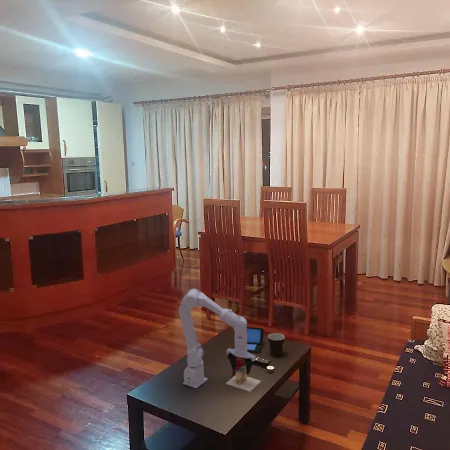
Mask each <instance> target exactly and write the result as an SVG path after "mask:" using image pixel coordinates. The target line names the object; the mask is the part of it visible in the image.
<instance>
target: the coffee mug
mask: <svg viewBox="0 0 450 450" xmlns="http://www.w3.org/2000/svg"><path fill="white" fill-rule="evenodd" d="M267 340H268V345H269V351H270V352H269V353H270V356H271V357H273V356H274V357H273V358H281V357H283V355H284V354H283V353H284V347H285V346H284V344H285V335H284V334H282V333H279V332H278V333H276V332H274V333H270V334H268V336H267Z"/></svg>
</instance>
